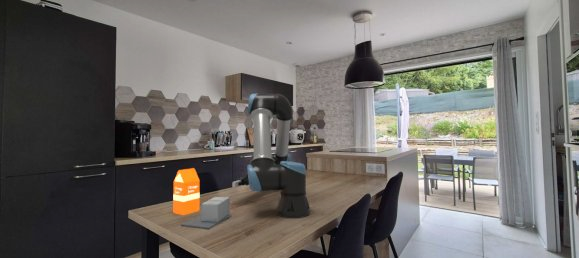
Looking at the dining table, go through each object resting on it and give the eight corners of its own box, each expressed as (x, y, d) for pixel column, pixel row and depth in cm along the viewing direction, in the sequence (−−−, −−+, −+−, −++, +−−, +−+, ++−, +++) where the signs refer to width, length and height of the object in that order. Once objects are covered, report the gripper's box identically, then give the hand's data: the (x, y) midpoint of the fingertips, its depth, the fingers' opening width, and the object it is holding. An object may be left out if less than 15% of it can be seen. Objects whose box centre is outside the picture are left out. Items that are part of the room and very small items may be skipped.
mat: (206, 214, 113) (206, 212, 113) (231, 216, 109) (231, 215, 109) (180, 225, 98) (180, 224, 98) (208, 229, 94) (208, 227, 94)
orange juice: (199, 210, 119) (199, 168, 120) (183, 215, 111) (183, 170, 112) (189, 208, 123) (189, 167, 124) (172, 212, 115) (173, 169, 116)
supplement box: (230, 196, 112) (218, 204, 99) (230, 213, 112) (218, 223, 99) (214, 196, 113) (201, 203, 100) (214, 212, 113) (200, 221, 100)
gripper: (264, 185, 144) (245, 193, 122) (244, 184, 148) (222, 191, 126) (264, 172, 144) (245, 177, 122) (244, 171, 148) (222, 176, 126)
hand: (233, 184), depth 124 cm, fingers closed
